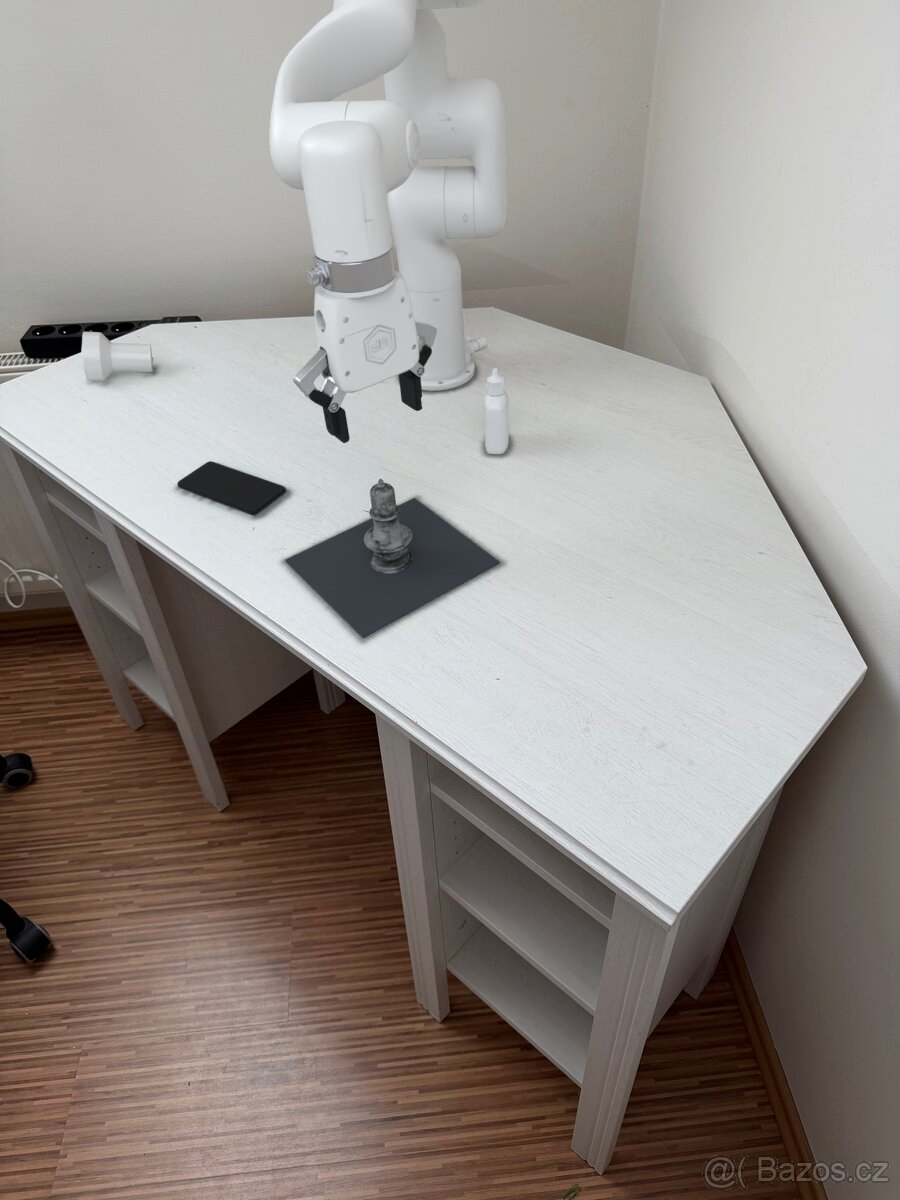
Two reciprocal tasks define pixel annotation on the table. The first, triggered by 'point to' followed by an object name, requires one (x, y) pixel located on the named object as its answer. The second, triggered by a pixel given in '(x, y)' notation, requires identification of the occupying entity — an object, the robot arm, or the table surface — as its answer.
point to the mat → (387, 597)
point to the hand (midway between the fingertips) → (376, 421)
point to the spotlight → (113, 356)
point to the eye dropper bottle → (496, 415)
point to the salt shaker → (387, 532)
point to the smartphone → (232, 487)
